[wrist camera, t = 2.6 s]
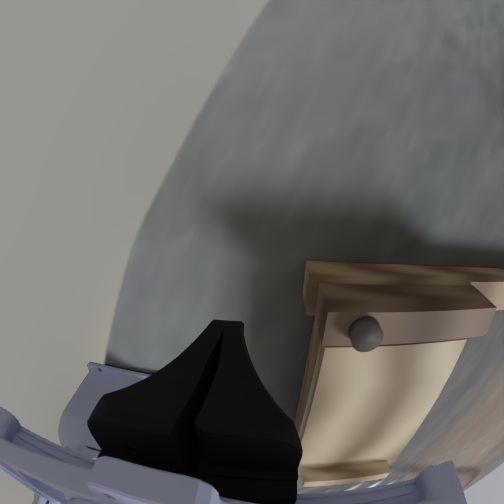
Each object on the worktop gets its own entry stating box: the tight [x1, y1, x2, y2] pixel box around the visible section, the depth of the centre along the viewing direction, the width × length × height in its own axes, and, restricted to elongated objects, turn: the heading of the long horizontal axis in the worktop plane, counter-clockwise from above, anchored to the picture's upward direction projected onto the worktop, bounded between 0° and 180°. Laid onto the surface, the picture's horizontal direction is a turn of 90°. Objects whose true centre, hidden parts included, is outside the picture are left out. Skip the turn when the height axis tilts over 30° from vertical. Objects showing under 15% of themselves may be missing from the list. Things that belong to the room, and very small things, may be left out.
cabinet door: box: [315, 283, 497, 352], centre depth 14 cm, size 11×2×4 cm, turn 89°
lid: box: [298, 338, 467, 487], centre depth 18 cm, size 10×16×3 cm, turn 179°
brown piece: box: [294, 260, 504, 434], centre depth 20 cm, size 24×19×3 cm
